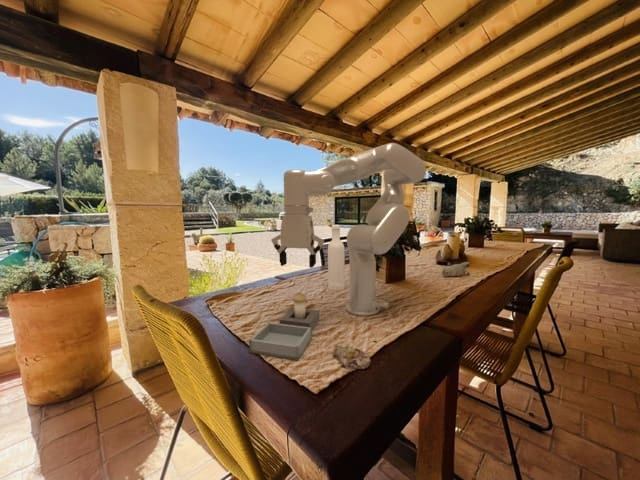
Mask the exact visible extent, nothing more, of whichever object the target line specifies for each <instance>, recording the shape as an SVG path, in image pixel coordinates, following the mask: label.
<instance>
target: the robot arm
mask: <svg viewBox="0 0 640 480" xmlns="http://www.w3.org/2000/svg"><path fill="white" fill-rule="evenodd" d="M383 171H384V172H383ZM380 172H383V181H384V183H383V184H384V191H383V193H382V195H381V196H380V197H379V198H378V200H377V201H376V202H375V203H374V205H373V206H371V208H370V209H369V211H368V213H367V215H366V222H367V224H356V225H354V226H353V227H351V228H350V229H349V230H348V232H347V235H346V245H347V249H348V256H349V259H348V260H349V302H347V303H346V304H345V311H347V312H348V313H350V314H352V315H355V316H360V317H361V316H362V317H364V316H365V317H366V316H373V315H377V314H379V312H380V310H381V308H383V309H388V308H389V302H386V301H385V300H381V299H380V300H379V299H378V296H377V293H376V292H377V291H376V288H377V287H376V285H377V284H376V283H377V274H376V273H377V272H376V271H377V263H376V257H375V255H377V256H378V255H379V256H381V255H383V254H386V253H387V252H389V250H391V248H392V247H394V244H395V243H396V242H397V241H398V239H399V238H400V237H401V235H402V234H403V233H404V231H405V230H406V228H407V226H408V224H409V221H410V213H409V212H410V211H409V209H408V208H407V207H406V205H404V203H405V201H406V200H405V199H406V198H405V197H406V196H405V192H404V188H403V185H409V184H416V183H419V182H421V181H422V180H423V179H424V178H425V177H426V175H427V167H426V163H425V162H424V161H423V159H421V158H420V157H419V156H417V155H416V154H414V153H413V152H412V151H410V150H409V149H407V148H406V147H404V146H402V145H401V144H398V143H395V142H390V143H386V144H383V145H380V146H379V145H378V146H376V147H373V148H370V149H367V150H365V151H362V152H359V153H357V154H354V155H351V156H349V157H346V158H344V159H340V160H339V161H337V162H335V163H333V164H330V165H328V166H327V165H326V166H325V167H323V168H319V169H317V170H307V171H306V170H301V169H290V170H286V171H285V172H284V174H283V204H284V206H283V207H284V215H283V216H282V218H281V224H280V234H279V235H276V236H275V237H273V238H271V243H272V244H273V246H274V248H275V250H276V251H277V253H278V254H279V263H280V267H281V266H282V267H283V266H285V265H287V252H286V250H287V249H307V251H308V252H309V253H310V254H309V259H308V261H309V262H308V263H309V264H308V265H309V266H308V267H309V268H313V267H315V265H316V264H317V253H318V252H319V251H320V250H321V249H322V247H323V246H324V243H325V240H324V239H323V238H322V237H321V238H320V237H319V236H317V235H316V234H315V229H314V222H313V217H312V215H309V214H310V213H313V212H314V208H313V207H310V205H309V203H310V199H309V197H316V196H325V195H327V194H330V193H331V192H332V191H333V190H334V188H336V187H338V186H339V187H340V186H344V185H348V184H353V183H355V182H359V181H361V180H363V179H366V178H368V177H371V176H373V175H375V174H378V173H380ZM279 240H280V244H279ZM315 243H317V246H316V247H315V246H314V245H315Z"/></svg>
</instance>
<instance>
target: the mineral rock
mask: <svg viewBox="0 0 640 480" xmlns="http://www.w3.org/2000/svg"><path fill="white" fill-rule="evenodd" d="M332 355H333V357H334V358H335V360H337V361H338V362H340V363H341V367H343V368H345V369H348V370H352V371H356V370H365V369H366V368H368V367H369V366H370V364H371V362H372V361H371V359H370V356H369V353H368V352H364V351H362V350H360V349H358V348H352V347H350V346H349V345H346V346H341V345H334V347H333V350H332Z"/></svg>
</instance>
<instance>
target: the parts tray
mask: <svg viewBox="0 0 640 480" xmlns="http://www.w3.org/2000/svg"><path fill="white" fill-rule="evenodd" d="M312 340H313V330H312V328H311V327H302V326H294V325H286V324H280V323H275V322H267V323H266V324H265V325H264V326H263V327H261V329H259V331H257V332H256V333H255V334H254V335H253V336H252V337H251V338H250V339H248V348H249V349H248V350H249V353H251V354H256V355H263V356H270V357H276V358H282V359H287V360H293V361H294V360H295V361H299V360H300V359H301V358H302V355H304V352H305V351H306V349H307V347H308V346H309V344H310V343H311V341H312Z"/></svg>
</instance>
